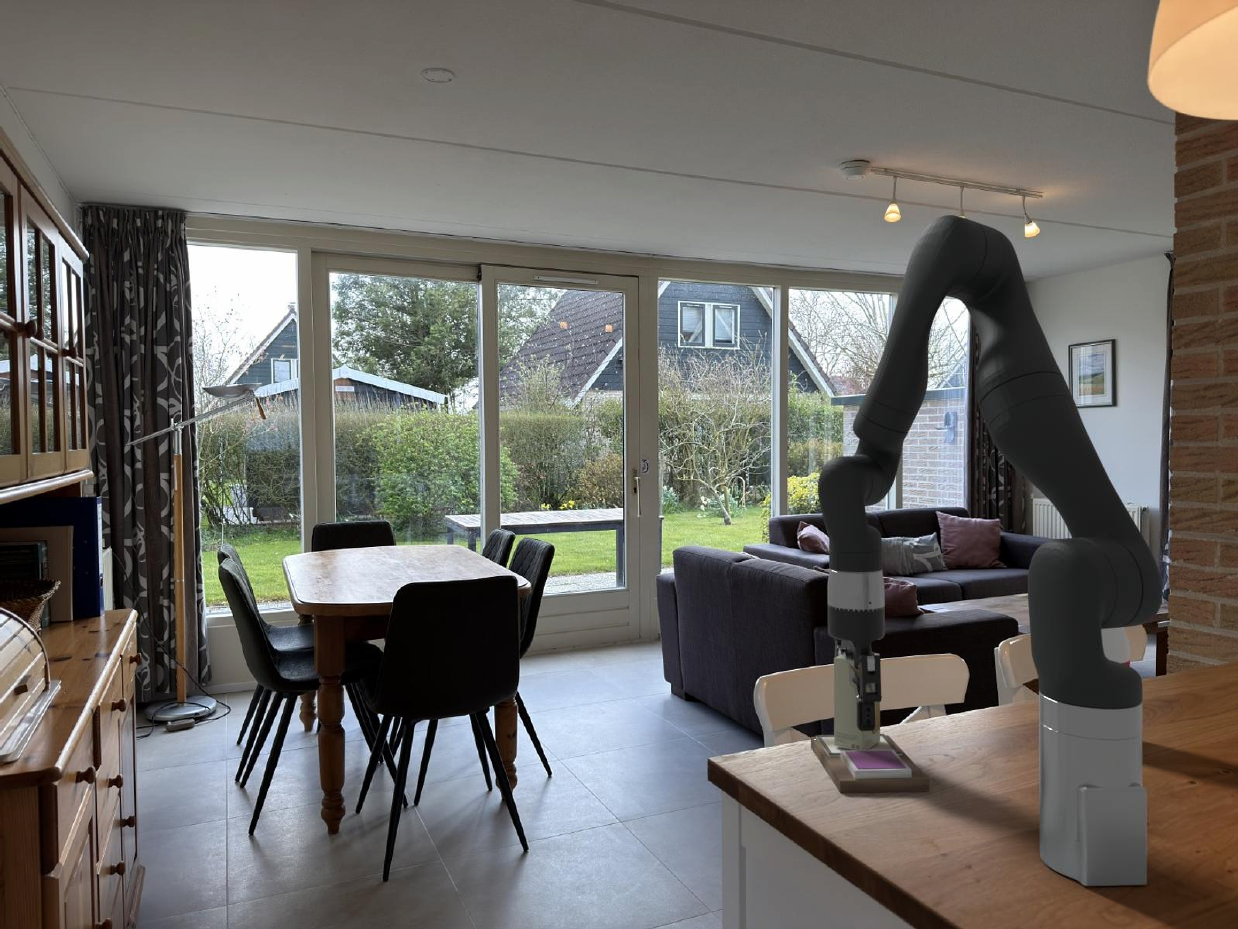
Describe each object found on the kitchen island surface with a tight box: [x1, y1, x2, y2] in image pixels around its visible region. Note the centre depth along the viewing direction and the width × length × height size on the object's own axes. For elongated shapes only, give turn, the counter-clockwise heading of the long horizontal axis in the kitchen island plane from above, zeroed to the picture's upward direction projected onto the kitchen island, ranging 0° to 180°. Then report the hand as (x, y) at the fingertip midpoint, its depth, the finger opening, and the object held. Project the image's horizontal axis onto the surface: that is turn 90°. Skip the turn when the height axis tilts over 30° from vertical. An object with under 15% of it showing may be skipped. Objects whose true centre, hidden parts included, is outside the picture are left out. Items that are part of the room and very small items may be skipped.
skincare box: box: [833, 652, 881, 751], centre depth 119 cm, size 6×4×12 cm
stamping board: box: [810, 733, 930, 794], centre depth 115 cm, size 16×11×3 cm
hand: (857, 719), depth 119 cm, fingers open, 8 cm apart
